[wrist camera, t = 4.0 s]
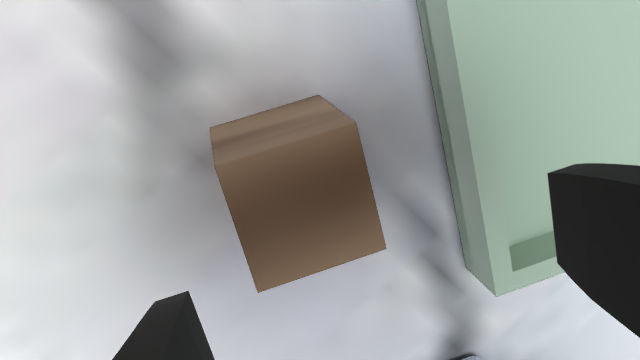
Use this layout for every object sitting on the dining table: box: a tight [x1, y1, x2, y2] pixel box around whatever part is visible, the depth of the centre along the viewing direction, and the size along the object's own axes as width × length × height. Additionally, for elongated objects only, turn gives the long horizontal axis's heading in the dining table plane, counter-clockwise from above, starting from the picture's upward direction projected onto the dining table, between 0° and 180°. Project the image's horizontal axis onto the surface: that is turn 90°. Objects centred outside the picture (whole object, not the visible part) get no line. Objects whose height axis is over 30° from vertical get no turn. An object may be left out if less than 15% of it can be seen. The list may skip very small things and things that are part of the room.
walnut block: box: [210, 95, 386, 293], centre depth 18 cm, size 4×4×5 cm
